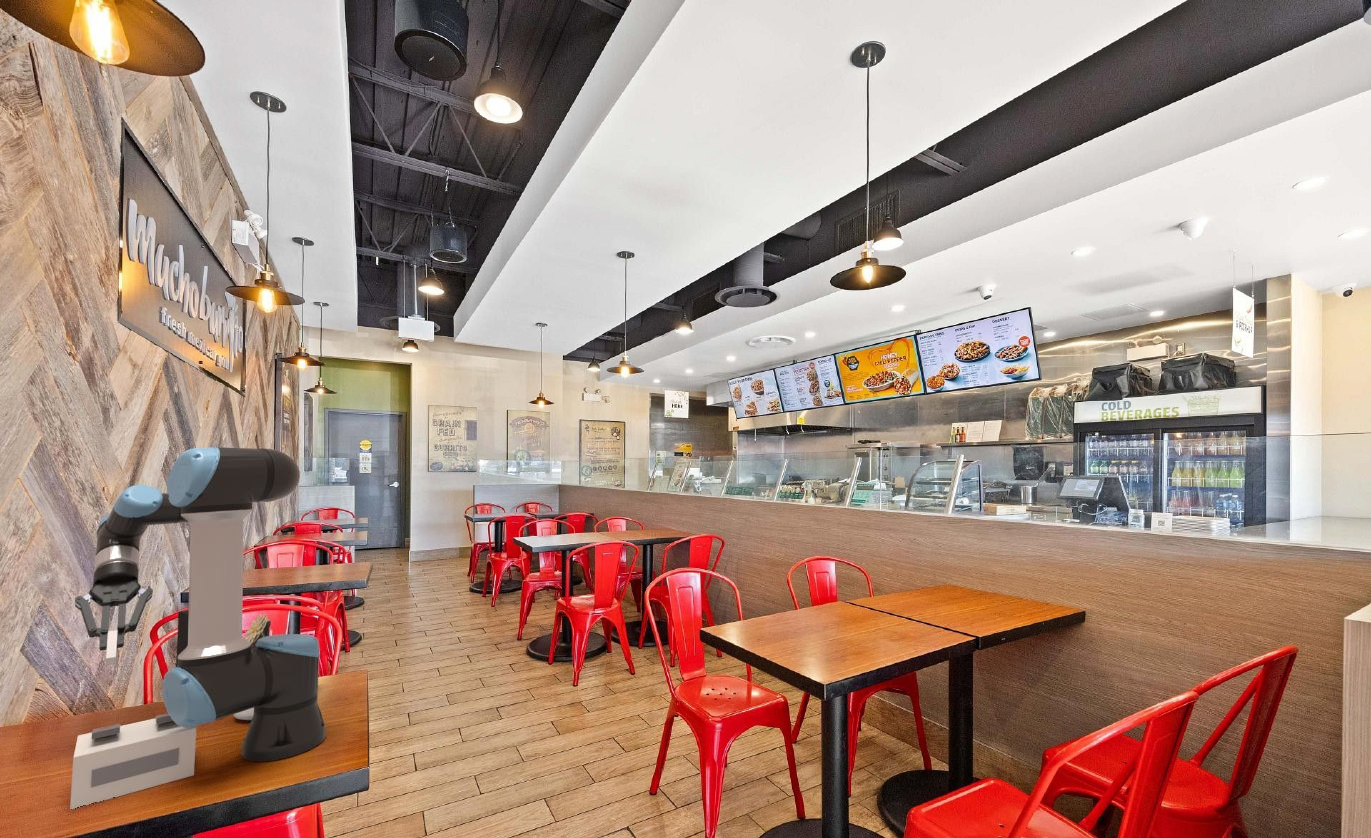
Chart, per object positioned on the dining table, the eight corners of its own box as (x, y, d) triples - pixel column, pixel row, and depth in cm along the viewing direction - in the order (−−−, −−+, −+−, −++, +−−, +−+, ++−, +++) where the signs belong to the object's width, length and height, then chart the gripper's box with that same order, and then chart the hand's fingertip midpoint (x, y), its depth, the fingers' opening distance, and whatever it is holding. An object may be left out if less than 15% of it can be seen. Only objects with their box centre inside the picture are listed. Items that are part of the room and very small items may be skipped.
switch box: (74, 784, 114) (78, 733, 115) (189, 754, 126) (191, 708, 126) (69, 810, 105) (73, 755, 106) (193, 775, 117) (196, 726, 117)
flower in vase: (237, 711, 148) (242, 608, 150) (292, 702, 153) (295, 603, 155) (226, 731, 136) (231, 620, 138) (285, 721, 142) (289, 614, 143)
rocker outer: (92, 735, 114) (93, 728, 114) (119, 728, 116) (120, 722, 117) (91, 739, 110) (91, 733, 110) (119, 732, 112) (120, 726, 113)
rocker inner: (155, 721, 120) (155, 715, 120) (180, 715, 123) (180, 710, 123) (156, 723, 116) (156, 717, 116) (181, 718, 119) (182, 712, 119)
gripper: (153, 576, 144) (151, 663, 131) (76, 584, 135) (66, 679, 122) (155, 557, 140) (153, 644, 127) (76, 563, 131) (65, 658, 118)
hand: (110, 661), depth 124 cm, fingers closed
